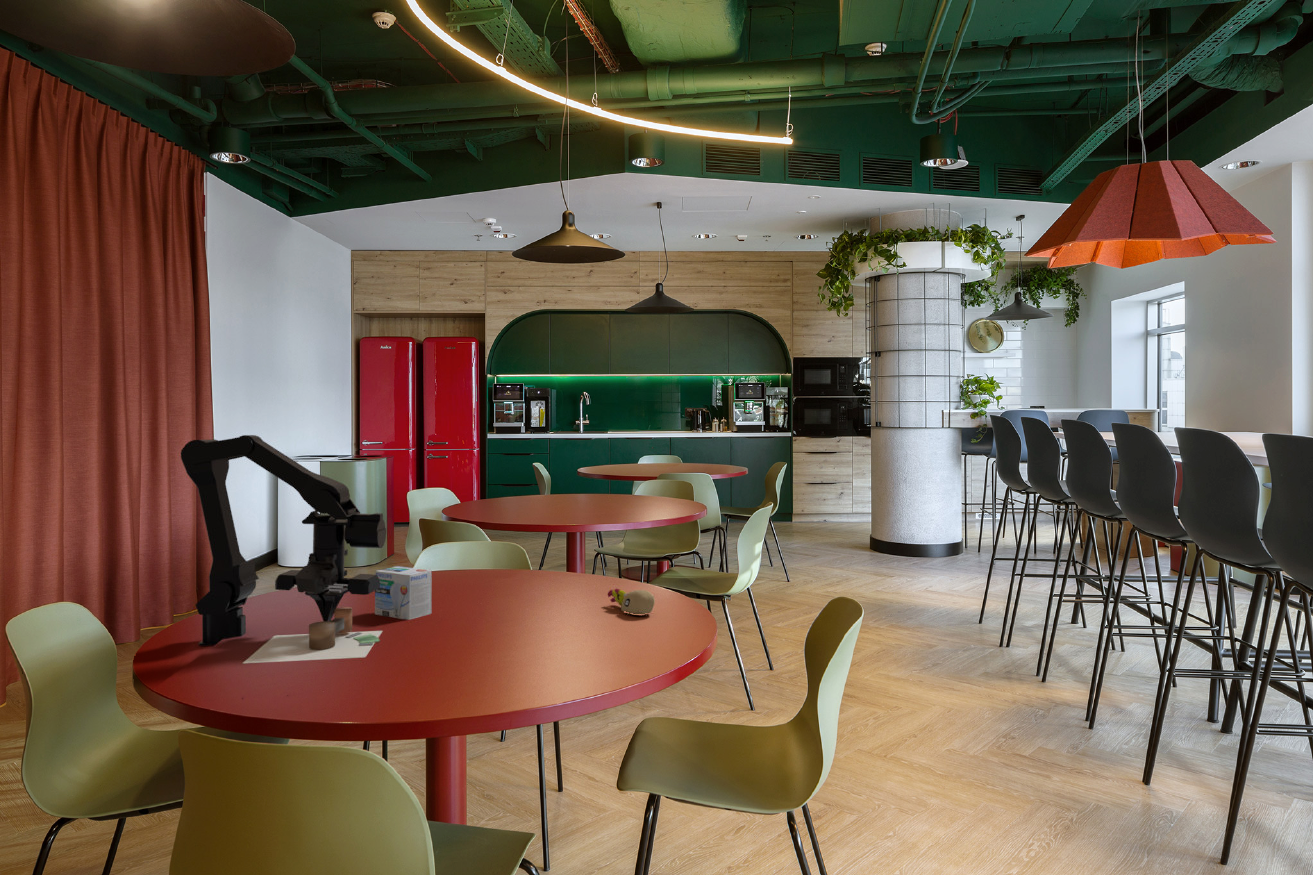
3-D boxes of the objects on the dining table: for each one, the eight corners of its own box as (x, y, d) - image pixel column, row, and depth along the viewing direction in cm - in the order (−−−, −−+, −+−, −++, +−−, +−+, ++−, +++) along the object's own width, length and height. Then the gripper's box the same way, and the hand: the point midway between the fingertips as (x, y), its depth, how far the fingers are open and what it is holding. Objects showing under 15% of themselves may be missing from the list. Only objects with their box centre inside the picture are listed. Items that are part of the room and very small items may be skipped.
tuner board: (242, 670, 131) (242, 662, 131) (274, 641, 149) (274, 634, 149) (370, 663, 135) (370, 655, 135) (387, 636, 153) (387, 629, 153)
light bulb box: (373, 620, 166) (373, 570, 166) (397, 613, 172) (397, 565, 172) (409, 625, 161) (409, 574, 161) (433, 618, 167) (432, 569, 167)
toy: (595, 593, 178) (629, 604, 166) (619, 575, 182) (653, 585, 169) (607, 614, 180) (641, 627, 167) (629, 596, 183) (664, 607, 171)
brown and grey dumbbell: (328, 649, 139) (328, 623, 139) (304, 649, 139) (304, 623, 139) (357, 630, 152) (357, 607, 152) (335, 630, 152) (335, 607, 152)
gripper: (258, 551, 143) (257, 634, 144) (356, 557, 142) (354, 640, 142) (291, 541, 154) (290, 618, 155) (382, 546, 153) (380, 623, 153)
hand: (327, 625), depth 151 cm, fingers closed
